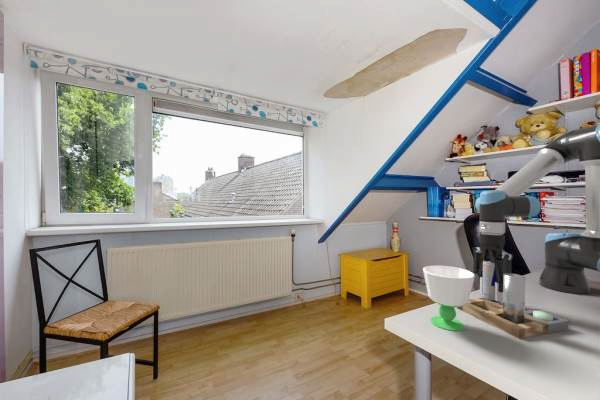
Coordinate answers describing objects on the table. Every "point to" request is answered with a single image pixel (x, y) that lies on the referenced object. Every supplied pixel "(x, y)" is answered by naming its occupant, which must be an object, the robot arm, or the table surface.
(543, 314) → the button
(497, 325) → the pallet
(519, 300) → the billet
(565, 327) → the button housing
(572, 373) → the table surface
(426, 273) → the cup
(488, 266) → the beverage can
